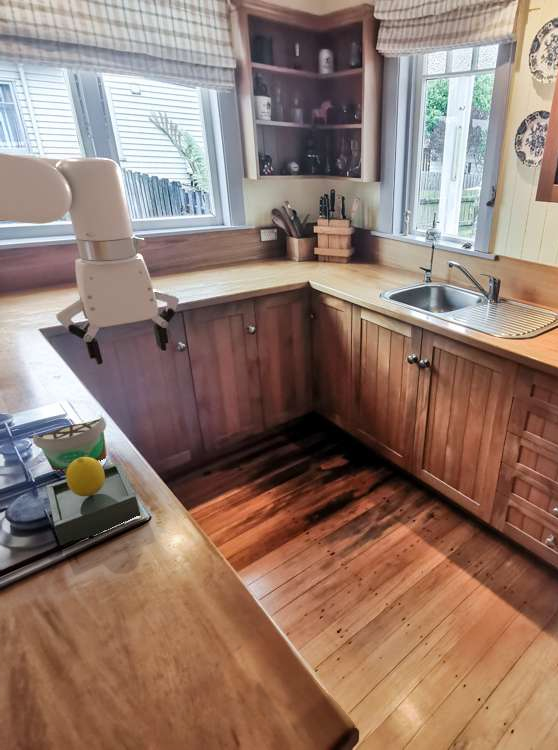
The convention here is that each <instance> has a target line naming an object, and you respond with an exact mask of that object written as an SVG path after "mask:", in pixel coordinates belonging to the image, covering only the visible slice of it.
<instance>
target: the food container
mask: <svg viewBox="0 0 558 750" xmlns="http://www.w3.org/2000/svg"><path fill="white" fill-rule="evenodd" d="M106 428H107V421H106V419H105V417H104V416H102V414H100V418H99V419H94V420H92V421H91V420H90V421H88V422H82V423H76V424H69V425H66V426H64V427H61V428H58V429H55V430H53V431H50V432H46V433H42V434H38V435H37V433H36V432H35V431H33V435H32V441H33V444H34V446H35V447H37V448H38V449H41V450H42V452H43V454H44V456H45V458H46V460H47V461H48V463H49V465H50V468H51V470H52V471H53V470H60V471H62V472H63V473H65V474H66V472H67V468H68V467H69V465H70V464H71V463H72V462H73V461H74V460H76V459H78V458H80V457H90V458H93V459H95V460H97V461H98V460H100V461H101V460H103V459H105V458H106V456H107V457H108V454H107V446H106V440H105V439H106V438H105V432H104V431H105V430H106Z"/></svg>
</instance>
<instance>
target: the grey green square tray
mask: <svg viewBox="0 0 558 750" xmlns="http://www.w3.org/2000/svg"><path fill="white" fill-rule="evenodd" d="M102 468H103V470H104V474H105V481H104V484H103V486H102V488H101V489H100V490H99V491H98V492H97V493H95V494H93V495H92V496H79V495H76V494H74V493H73V492H72V491H71V490H70V488H69V487H68V484H67V480H66V479H60V480H59V481H55V482H53V483H49V484H46V485H45V489H46V494H47V499H48V504H49V508H50V512H51V518H52V522H53V527H54V529H55V532H56V534H57V538H58V540H59V542H60V545H61V544H65V543H67V542H69V541H72V540H76V539H81V538H85V537H89V536H92V535H96V534H99V533H101V532H103V531H104V530H108V529H110V528H112V527H114V526H116V525H118V524H121V523H123V522H125V521H128V520H130V519H132V518H134V517H136V516H140V515H141V514H142V513H141V511H140V506H139V502H138V499H137V495H136V493H135V491H134V488H133V486H132V484H131V482H130V480H129V478H128V475H127V474H126V471H125V469H124V467H123V464H122V462H121V461H117V462H114V463H111V464H109V465H104V466H103V467H102ZM141 516H142V515H141ZM99 535H100V534H99Z"/></svg>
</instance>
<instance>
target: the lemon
mask: <svg viewBox="0 0 558 750" xmlns="http://www.w3.org/2000/svg"><path fill="white" fill-rule="evenodd" d="M66 480H67V484H68V487H69V488H70V490H71V491H72V492H73V493H74V494H76V495H79V496H92V495H93V494H95V493H97V492H98V491H99V490H100V489H101V488H102V486H103V484H104V481H105V474H104V470H103V468H102V466H101V465H100V463H99V462H98V461H97V460H95V459H93V458H90V457H80V458H78V459H76V460H74V461H73V462H72V463H71V464H70V465H69V467H68V468H67V472H66Z"/></svg>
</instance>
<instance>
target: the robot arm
mask: <svg viewBox="0 0 558 750" xmlns="http://www.w3.org/2000/svg"><path fill="white" fill-rule="evenodd" d="M67 213H69V217H70V220H71V224H72V229H73V233H74V235H75V236H74V237H75V240H76V244H77V248H78V252H79V257H80V258H77V259H75V262H74V263H75V264H74V268H75V278H76V285H77V286H76V287H77V291H78V297H79V299H78V300H76V301H75V302H73V303H72V304H70V305H68V307H66V308H64V309H62V310H61V311H59V312H58V313H56V316H55V317H56V319H57V321H58V322H59V323H60V324H61V325H62V326H63V327H64V328H65V329H66V330H67V331H68V332H69V333H70V334H72V335H74V336H77V337H78V338H80V339H82V340H83V341H84V342H85V344H86V350H87V353H88V356H89V359H90V360H92V359H94V360H95V362H96V363H97V365H99V366H100V365H102V364H103V363H104V361H103V357H102V353H101V349H100V345H99V341H98V339H97V338H96V335H97V333H98V331H99V330H100V329H101V328H108V327H113V326H121V325H127V324H132V323H137V322H143V321H147V320H151V321H153V322H154V324H153V330H154V331H153V332H154V335H155V341H156V345H157V347H158V348H159V349H160V350H161V351H163V352H165V351H167V344H169V343H170V341H169V336H168V330H167V327H168V326H169V323H170V321H171V320H172V318H173V317H174V316H175V315H176V310H177V308H178V306H179V302H180V299H179V298H178V297H176V295H172V294H169V293H166V292H164V291H159V290H157V289H154V285H153V282H152V279H151V275H150V272H149V270H148V267H147V264H146V261H145V259H144V257H143V256H142V254H140V253H139V251H140V250H141V249H142V248H147V242H146V239H145V237H144V238H139V237H136V235H134V229H133V225H132V219H131V214H130V209H129V205H128V199H127V193H126V189H125V184H124V178H123V173H122V170H121V167H120V166H119V164H118V163H117V162H116V161H114V160H112V159H110V158H105V157H67V158H64V159H59V158H47V157H40V156H38V157H37V156H33V155H32V156H31V155H24V154H7V153H3V152H0V221H1V222H11V223H20V224H21V223H22V224H37V225H41V224H42V225H44V224H49V223H53V222H56V221H58V220H60V219H62V218H63V217H64V216H65V215H66V214H67ZM157 300H158V301H160V302H163V303H166V307H165V308H164V309H163V310H162V312H161V313H160V314H159V306H158V301H157ZM81 312H82V314H83V316H84V319H86V320H87V321H86V323H85V324H84V325H83V326H80V325H78V324H77V323H75V322H74V321H73V320H72V318H74V317H75V316H77V315H79V314H80V313H81Z"/></svg>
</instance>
